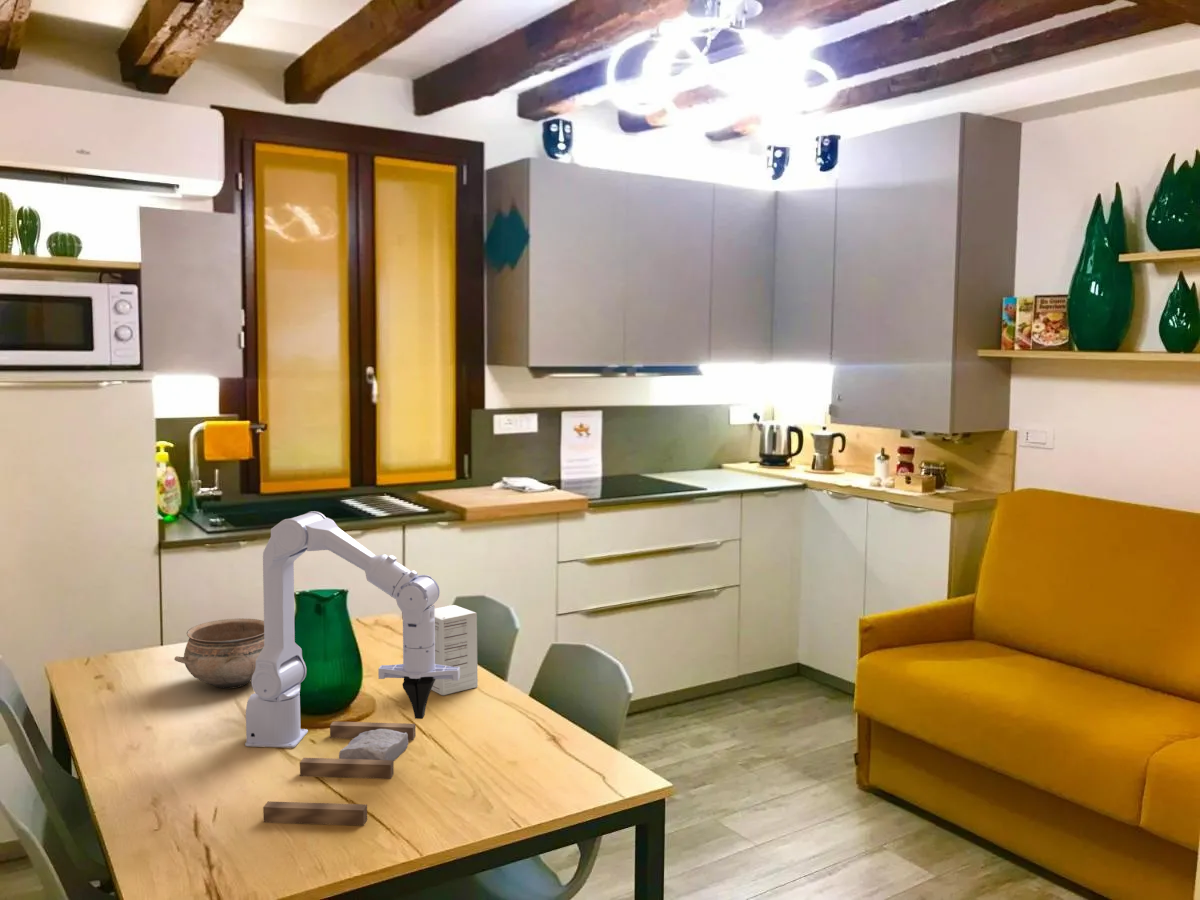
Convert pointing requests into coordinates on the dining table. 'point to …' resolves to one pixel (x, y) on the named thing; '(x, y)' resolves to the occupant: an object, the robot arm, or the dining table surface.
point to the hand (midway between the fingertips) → (419, 716)
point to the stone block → (376, 745)
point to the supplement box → (456, 647)
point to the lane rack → (337, 768)
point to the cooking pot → (224, 651)
